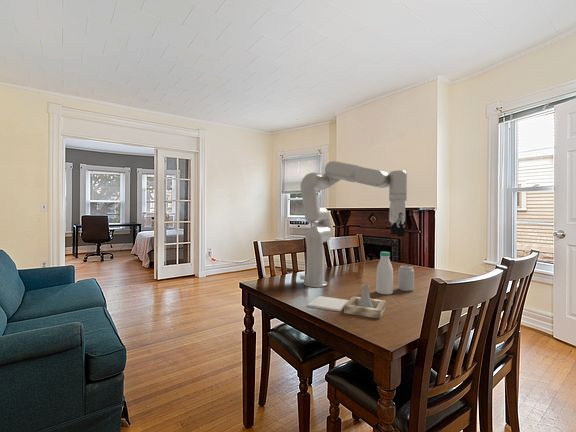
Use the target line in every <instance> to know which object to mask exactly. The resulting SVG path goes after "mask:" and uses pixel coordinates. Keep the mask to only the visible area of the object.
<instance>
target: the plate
mask: <svg viewBox="0 0 576 432" xmlns="http://www.w3.org/2000/svg"><path fill="white" fill-rule="evenodd" d="M349 300H350V299H343V298H337V297H329V296H324V295H323V296H320V295H318V296H317V297H316V298H314V299H313V300H312V301H310V302H309V303H308V304H307V308H308V307H309V308H315V309H322V310H326V311H327V310H328V311H335V312H341V311H342V310H344V305H345V304H346V303H347V302H348V301H349Z"/></svg>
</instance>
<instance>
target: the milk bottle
mask: <svg viewBox="0 0 576 432" xmlns="http://www.w3.org/2000/svg"><path fill="white" fill-rule="evenodd" d="M379 256H380V259H379V261H378V263H377V265H376V266H377V267H376V275H375V276H376V277H375V278H376V281H375V282H376V283H375V284H376V288H375V289H376V293H377V294H380V295H392V294H393V293H394V292H393V291H394V270H393V269H394V268H393V265H392V263H391V259H390V257H391V252H390V251H380V253H379Z"/></svg>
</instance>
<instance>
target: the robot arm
mask: <svg viewBox="0 0 576 432" xmlns="http://www.w3.org/2000/svg"><path fill="white" fill-rule="evenodd" d="M324 166H325V167H324V173H320V172H310V173H307V174H306V175H304V177H302V179H301V183H300V194H301V197H302V199H301V200H302V205H303V206H302V207H303V213H304V214H303V215H304V217H305V218H304V219H305V221H306V222H307V223H309V224H312V225H313V224H314V225H313V226H310V227H308V228H307V229H306V231H305V233H304V234H305V235H304V237H305V238H304V239H305V244H306V246H305V247H306V274H305V275H303V274H302V275H299V276H300V277H299V279H300V280H302V281H303V280H304V281H303V285H304V286H306V287H311V288H322V287H326V286H328V281H326V280H325V246H324V243H326V242H328V241H330V240H331V238H332V236H333V235H332V234H333V233H332V232H333V231H332V226H331V225H332V224H331V218H330V213H329V211H328V209H327V208H326V207H324V206H322V205H320V202H319V197H318V196H319V195H318V194H317V191H316V190H327V189H329V188H331V187H332V186H334V185H335V184H337V183H338V182H339V181H346V182H351V183H356V184H361V185H362V184H363V185H367V186H371V187H374V188H383V189H384V188H388V189H389V190H388V191H389V193H388V194H389V195H388V202H389V203H390V204H389V213H388V221H389V223H390V235H394V236H395V235H396V237H401V238H402V237H405V233H406V232H405V227H406V225H405V222H406V202H407V201H408V199H407V198H408V195H407V192H408V191H407V190H408V189H407V187H408V185H407V184H408V183H407V182H408V180H407V179H408V172H406V170H400V169H399V170H398V169H397V170H391V171H390V172H387V171H384V170H383V171H382V170H379V169H373V168H368V167H363V166H359V165H356V164H351V163H347V162H341V161H336V160H332V161H328V162H327V163H326V164H325V165H324Z"/></svg>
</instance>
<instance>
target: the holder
mask: <svg viewBox="0 0 576 432" xmlns="http://www.w3.org/2000/svg"><path fill="white" fill-rule="evenodd" d="M360 298H361V296H351V297H350V298H349V299H348V300H349V301H348V302H347V303H346V304H345V305H344V307H343V314H349V315H355V316H361V317H367V318H375V319H380V320H381V318H382V316H383V315H384V312H385V310H386V308H387V300H383V299H378V298H370V299H371V302H372V305H373V307H374V308H369V307H362V306H358V304H359V301H360Z"/></svg>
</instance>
